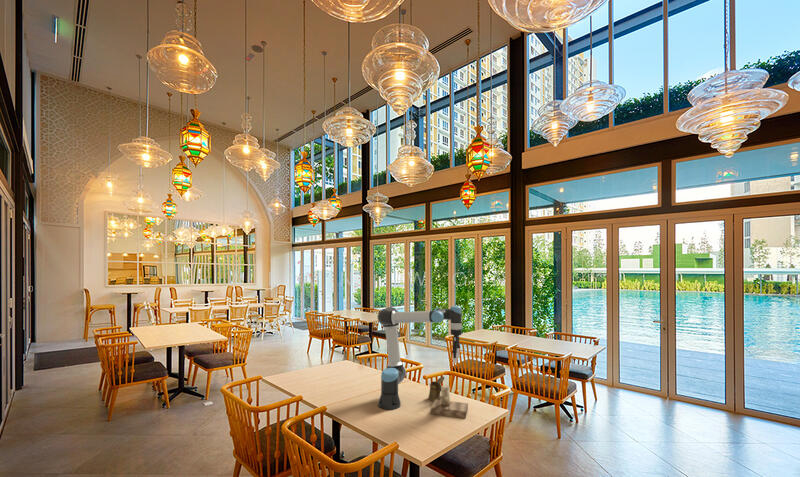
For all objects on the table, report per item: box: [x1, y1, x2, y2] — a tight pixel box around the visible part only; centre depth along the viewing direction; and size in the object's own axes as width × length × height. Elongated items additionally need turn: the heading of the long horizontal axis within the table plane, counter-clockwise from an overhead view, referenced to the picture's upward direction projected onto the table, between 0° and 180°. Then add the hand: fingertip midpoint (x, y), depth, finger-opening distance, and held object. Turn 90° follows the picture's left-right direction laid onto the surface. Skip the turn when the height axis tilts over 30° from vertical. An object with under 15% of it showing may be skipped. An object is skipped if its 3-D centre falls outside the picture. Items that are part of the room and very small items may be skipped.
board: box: [430, 400, 469, 419], centre depth 233 cm, size 22×14×4 cm, turn 74°
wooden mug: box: [427, 376, 445, 402], centre depth 254 cm, size 9×14×18 cm, turn 34°
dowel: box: [440, 385, 451, 407], centre depth 234 cm, size 6×6×15 cm
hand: (456, 360), depth 244 cm, fingers open, 13 cm apart
